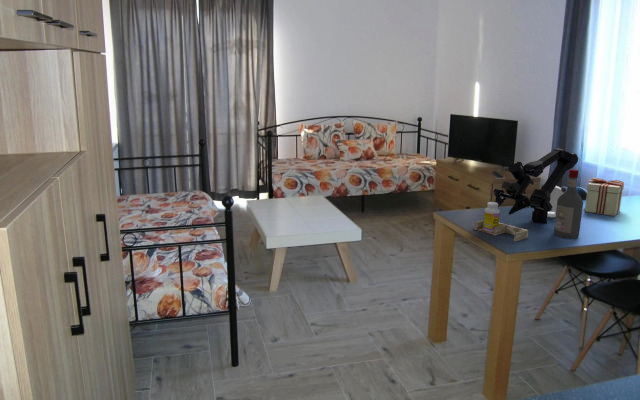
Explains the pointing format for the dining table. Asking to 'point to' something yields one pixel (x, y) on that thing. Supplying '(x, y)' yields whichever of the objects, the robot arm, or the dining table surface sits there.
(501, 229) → the rack
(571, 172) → the liquor
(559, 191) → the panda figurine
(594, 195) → the gift box
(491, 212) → the supplement bottle
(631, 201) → the dining table surface
